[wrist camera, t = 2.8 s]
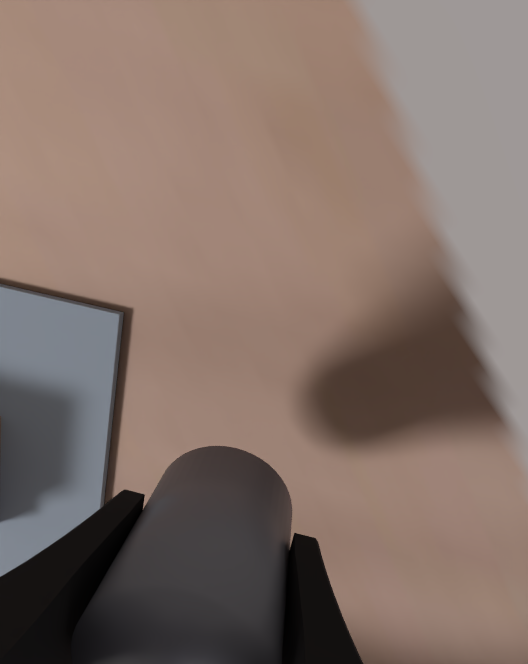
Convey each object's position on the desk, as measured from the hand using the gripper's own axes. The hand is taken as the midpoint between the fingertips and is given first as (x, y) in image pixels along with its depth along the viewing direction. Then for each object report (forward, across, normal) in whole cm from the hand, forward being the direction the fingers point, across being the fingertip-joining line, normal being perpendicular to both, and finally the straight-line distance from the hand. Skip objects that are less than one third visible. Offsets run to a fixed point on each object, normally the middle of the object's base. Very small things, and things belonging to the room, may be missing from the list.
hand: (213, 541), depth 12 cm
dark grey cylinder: (+1, 0, 0) cm, 1 cm away
